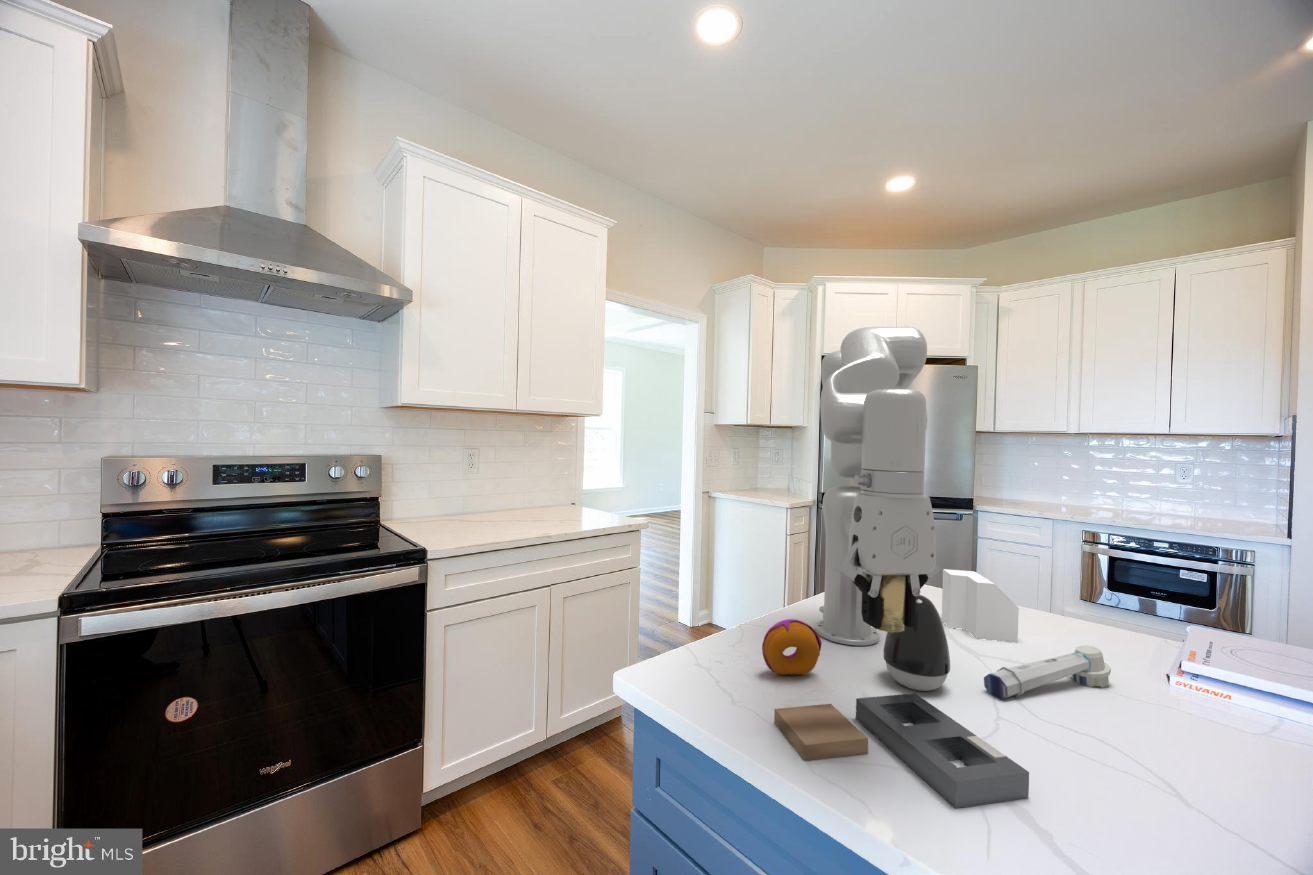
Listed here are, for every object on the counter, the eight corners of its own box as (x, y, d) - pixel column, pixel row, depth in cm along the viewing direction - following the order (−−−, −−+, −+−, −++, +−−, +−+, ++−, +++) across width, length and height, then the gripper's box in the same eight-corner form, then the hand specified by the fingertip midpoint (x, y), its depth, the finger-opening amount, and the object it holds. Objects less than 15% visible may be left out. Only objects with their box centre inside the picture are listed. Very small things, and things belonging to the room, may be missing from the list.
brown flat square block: (774, 722, 76) (774, 708, 76) (830, 717, 78) (831, 703, 78) (805, 760, 67) (805, 744, 67) (867, 753, 69) (868, 738, 69)
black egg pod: (946, 677, 92) (949, 591, 92) (952, 704, 82) (955, 608, 82) (883, 665, 96) (885, 583, 96) (881, 689, 87) (884, 598, 87)
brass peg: (864, 621, 70) (866, 569, 70) (891, 620, 71) (893, 568, 71) (883, 633, 66) (884, 577, 66) (911, 631, 67) (912, 576, 67)
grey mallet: (978, 667, 88) (1084, 634, 95) (981, 705, 88) (1086, 670, 96) (1008, 681, 83) (1116, 645, 90) (1011, 722, 83) (1119, 683, 91)
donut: (771, 661, 96) (772, 607, 96) (823, 673, 92) (824, 617, 92) (758, 678, 90) (759, 620, 90) (813, 692, 85) (815, 630, 85)
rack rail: (855, 718, 77) (856, 697, 77) (914, 712, 79) (915, 691, 79) (955, 808, 59) (956, 780, 59) (1028, 797, 61) (1029, 770, 61)
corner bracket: (941, 620, 122) (943, 569, 122) (995, 625, 120) (996, 573, 120) (958, 637, 112) (959, 581, 112) (1017, 642, 109) (1019, 585, 109)
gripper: (849, 486, 63) (844, 638, 63) (969, 487, 66) (965, 632, 66) (818, 480, 71) (814, 616, 71) (928, 482, 74) (924, 612, 74)
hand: (887, 622), depth 68 cm, fingers closed on brass peg, 4 cm apart
